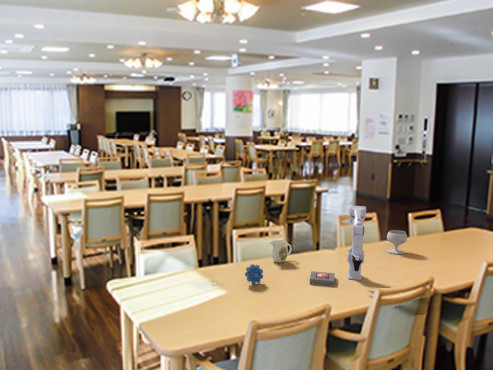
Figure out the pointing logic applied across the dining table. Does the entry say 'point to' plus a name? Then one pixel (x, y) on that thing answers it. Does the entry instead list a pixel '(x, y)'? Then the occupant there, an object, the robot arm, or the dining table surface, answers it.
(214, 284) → the paper
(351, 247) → the robot arm
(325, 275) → the button
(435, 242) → the dining table surface
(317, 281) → the button housing
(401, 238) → the chalice
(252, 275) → the grapes
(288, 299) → the dining table surface
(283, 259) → the pitcher
